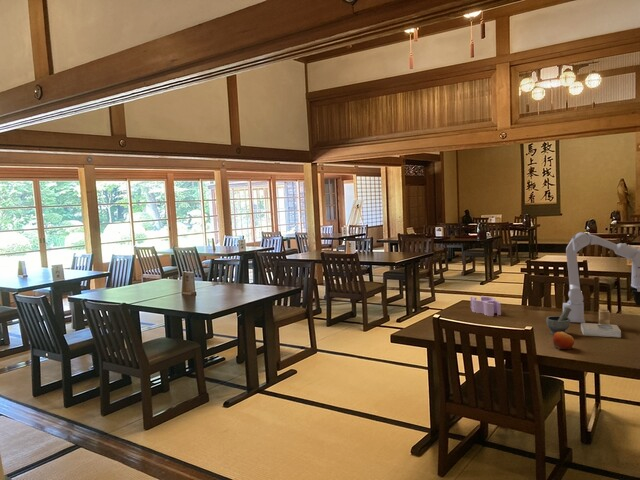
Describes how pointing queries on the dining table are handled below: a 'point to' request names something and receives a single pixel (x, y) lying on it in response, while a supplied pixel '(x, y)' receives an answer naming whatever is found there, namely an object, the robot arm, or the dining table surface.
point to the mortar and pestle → (559, 322)
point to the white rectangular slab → (600, 330)
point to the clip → (486, 306)
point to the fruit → (563, 340)
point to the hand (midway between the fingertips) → (638, 303)
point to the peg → (604, 317)
